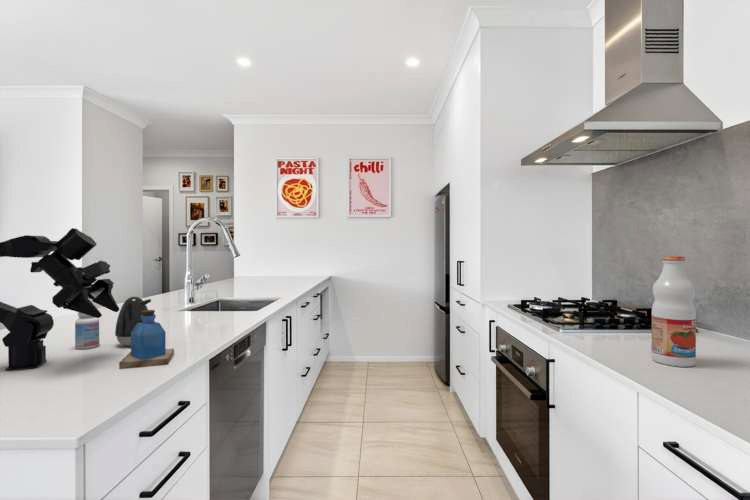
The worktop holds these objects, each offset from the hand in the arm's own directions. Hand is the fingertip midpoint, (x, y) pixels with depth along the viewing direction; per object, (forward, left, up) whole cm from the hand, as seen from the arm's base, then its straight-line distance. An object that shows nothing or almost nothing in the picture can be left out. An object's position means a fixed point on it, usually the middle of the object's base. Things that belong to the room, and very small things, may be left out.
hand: (109, 313), depth 108 cm
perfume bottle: (+10, -2, -12) cm, 15 cm away
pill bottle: (-12, +21, -13) cm, 27 cm away
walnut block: (+10, -2, -14) cm, 17 cm away
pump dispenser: (+1, +20, -13) cm, 24 cm away
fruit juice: (+141, -49, -13) cm, 150 cm away
